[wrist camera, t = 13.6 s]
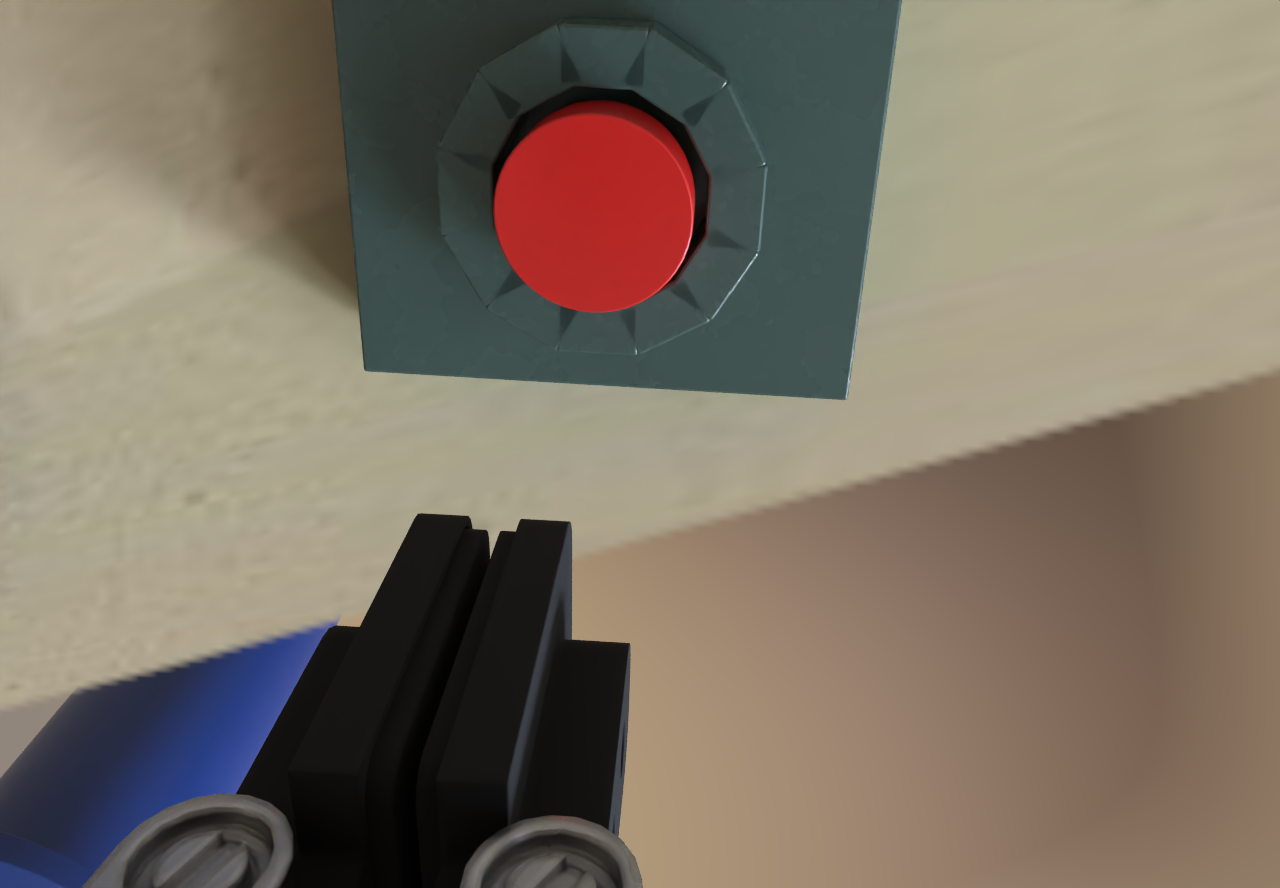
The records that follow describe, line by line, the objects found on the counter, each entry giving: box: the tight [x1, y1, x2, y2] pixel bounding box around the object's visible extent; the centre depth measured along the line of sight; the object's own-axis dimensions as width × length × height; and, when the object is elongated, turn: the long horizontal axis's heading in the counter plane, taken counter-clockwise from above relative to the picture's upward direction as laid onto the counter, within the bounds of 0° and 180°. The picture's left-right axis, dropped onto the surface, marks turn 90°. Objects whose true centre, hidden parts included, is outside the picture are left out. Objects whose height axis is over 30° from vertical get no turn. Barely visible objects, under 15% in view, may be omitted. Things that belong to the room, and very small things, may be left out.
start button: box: [493, 100, 695, 312], centre depth 21 cm, size 4×4×2 cm
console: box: [332, 0, 902, 400], centre depth 24 cm, size 10×12×4 cm
